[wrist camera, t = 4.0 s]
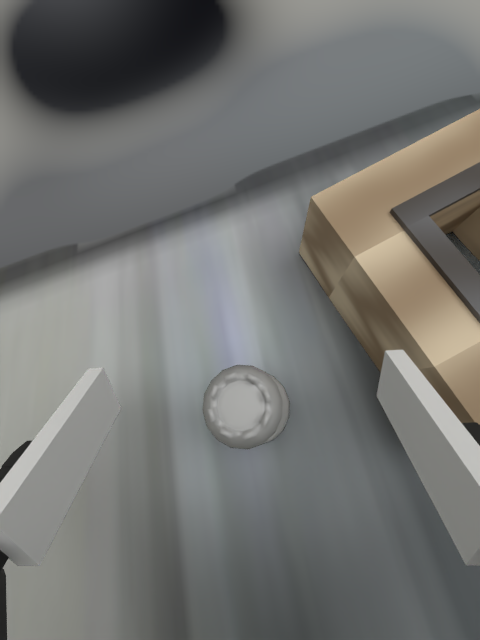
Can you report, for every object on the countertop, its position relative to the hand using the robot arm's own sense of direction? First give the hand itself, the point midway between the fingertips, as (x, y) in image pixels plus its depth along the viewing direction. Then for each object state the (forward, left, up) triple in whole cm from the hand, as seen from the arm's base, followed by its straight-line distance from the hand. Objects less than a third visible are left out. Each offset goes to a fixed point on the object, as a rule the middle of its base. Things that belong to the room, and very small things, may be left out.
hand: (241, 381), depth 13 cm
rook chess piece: (-1, 0, -5) cm, 6 cm away
